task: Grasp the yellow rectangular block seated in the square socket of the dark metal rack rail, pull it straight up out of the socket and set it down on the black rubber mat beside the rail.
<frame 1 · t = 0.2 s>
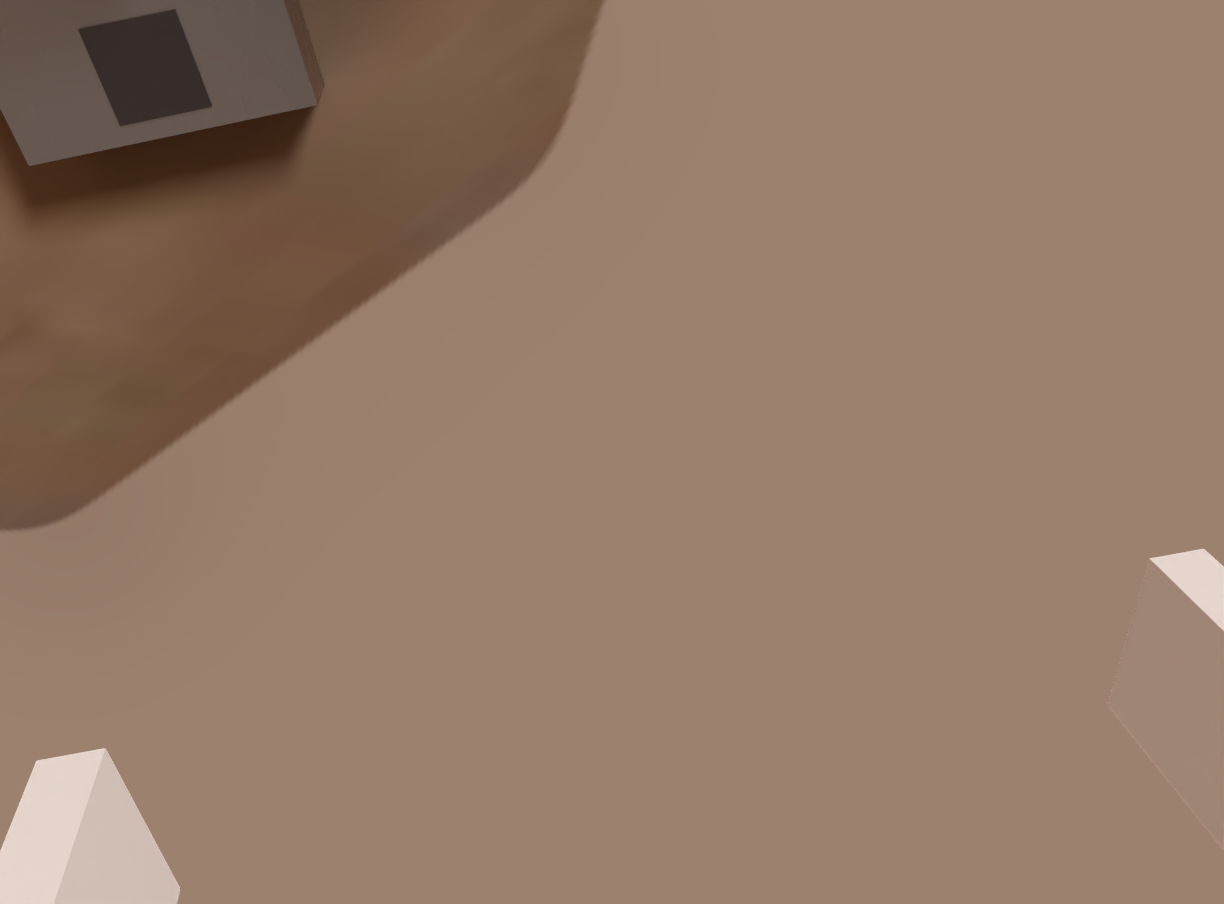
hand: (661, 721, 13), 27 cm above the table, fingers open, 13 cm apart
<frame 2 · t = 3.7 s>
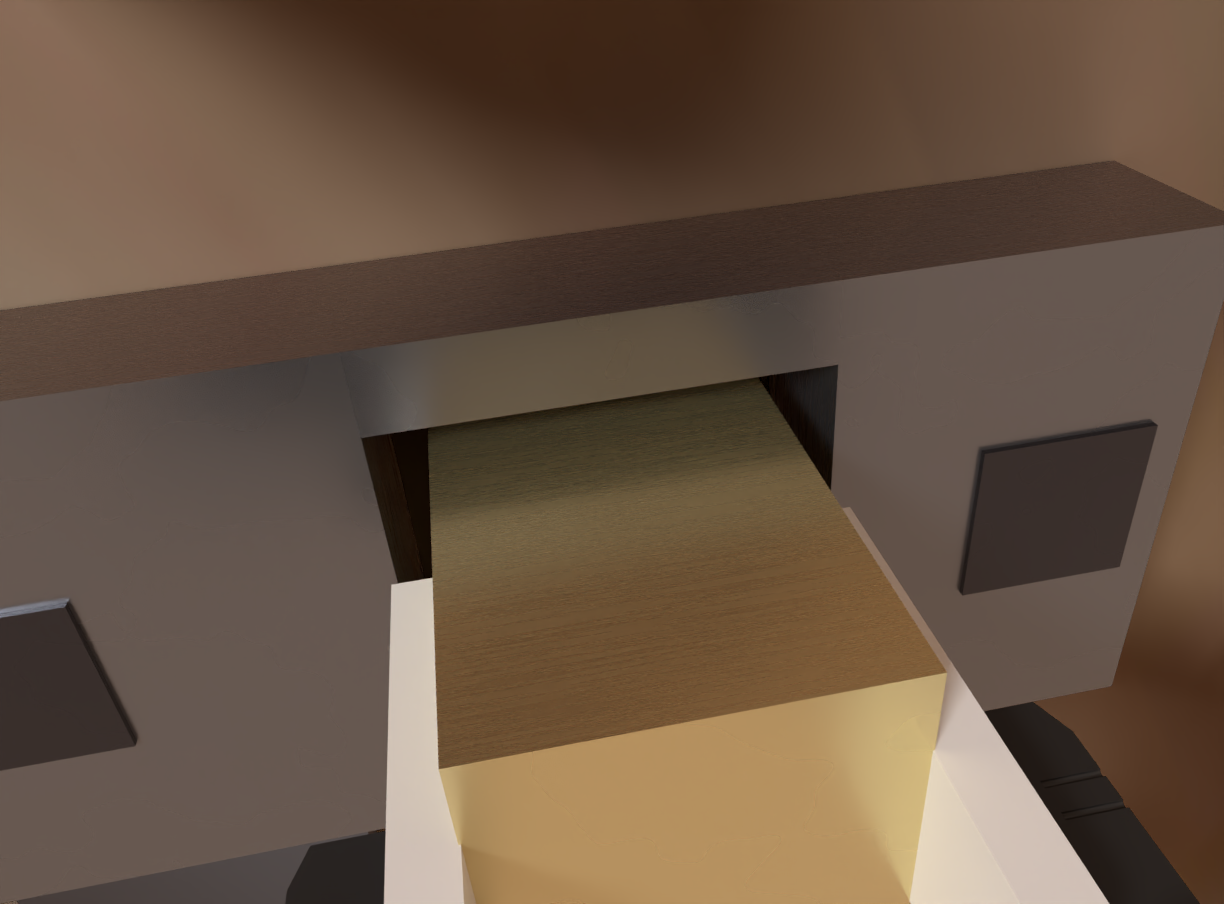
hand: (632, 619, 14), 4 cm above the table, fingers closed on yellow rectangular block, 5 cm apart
rubber mat: (207, 853, 21), on the table
yellow rectangular block: (591, 475, 17), resting in rack rail, touching gripper
rack rail: (479, 495, 17), on the table
when the fingers open (6 cm above the table, at t = 9.4 s): yellow rectangular block drops 1 cm, resting on rubber mat.
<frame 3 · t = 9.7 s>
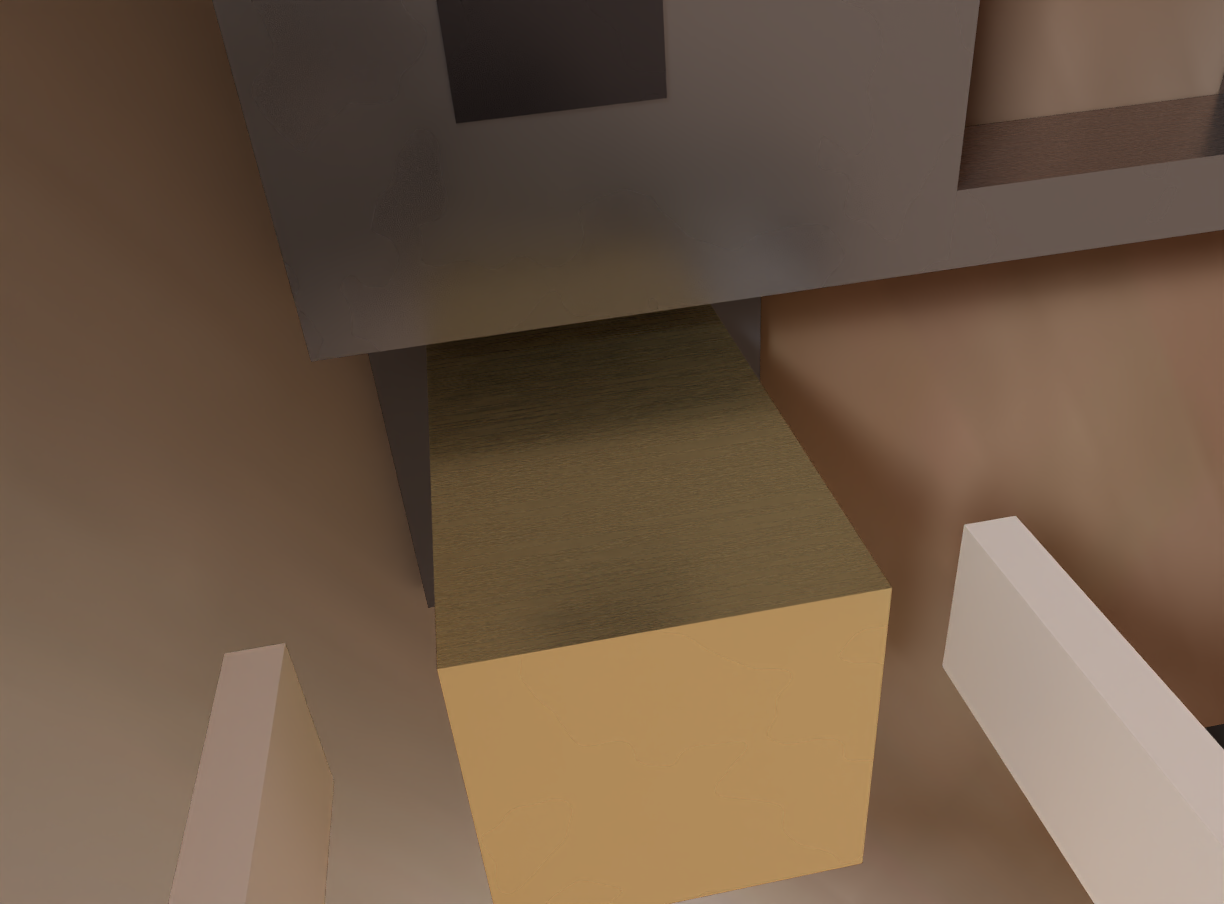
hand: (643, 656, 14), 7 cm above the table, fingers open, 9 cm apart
rubber mat: (576, 421, 19), on the table
yellow rectangular block: (581, 439, 18), point 1 cm above the table, touching rubber mat
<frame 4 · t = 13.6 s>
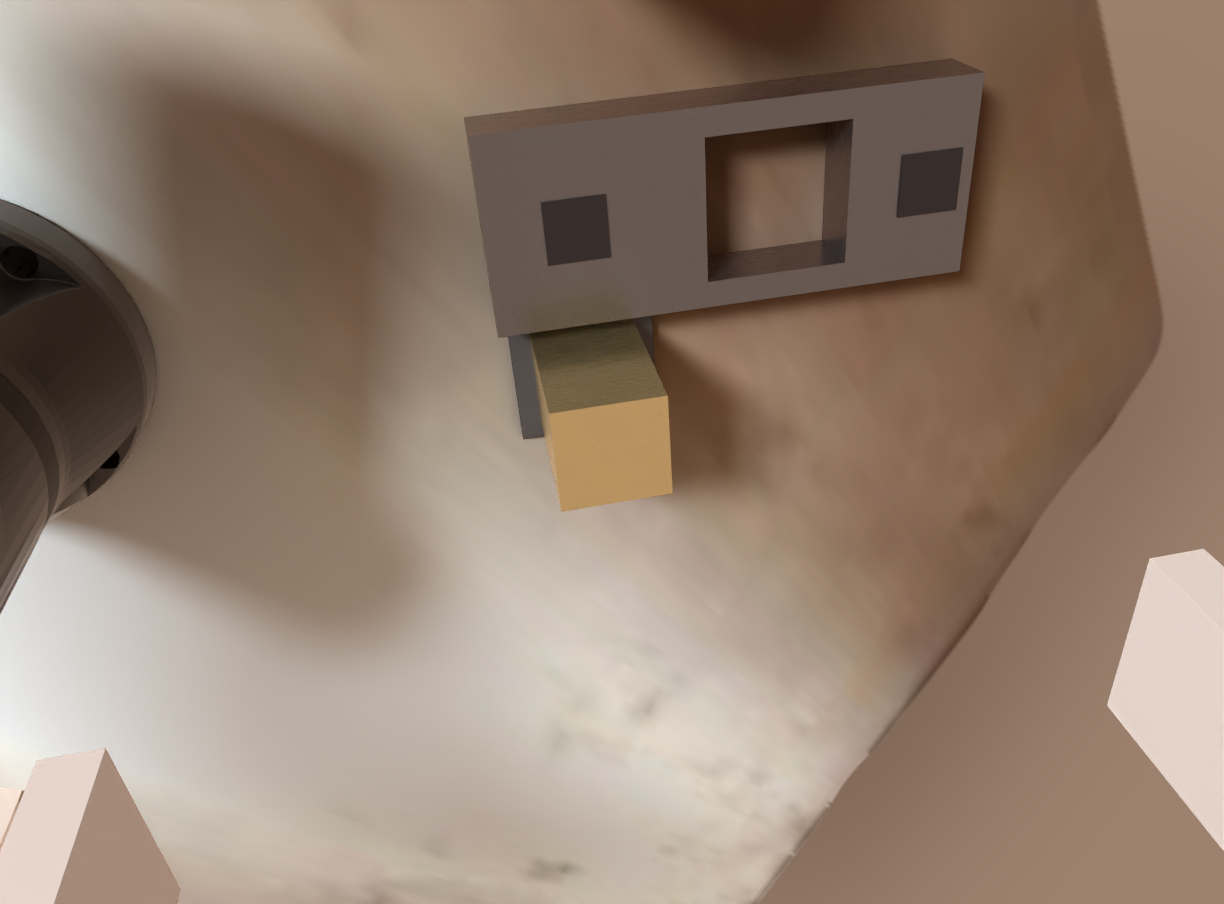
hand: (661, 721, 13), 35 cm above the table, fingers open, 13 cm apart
rubber mat: (583, 363, 49), on the table
yellow rectangular block: (585, 369, 48), point 1 cm above the table, touching rubber mat
rack rail: (716, 188, 45), on the table
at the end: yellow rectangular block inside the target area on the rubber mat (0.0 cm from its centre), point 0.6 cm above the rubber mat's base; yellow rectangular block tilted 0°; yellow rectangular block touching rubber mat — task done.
